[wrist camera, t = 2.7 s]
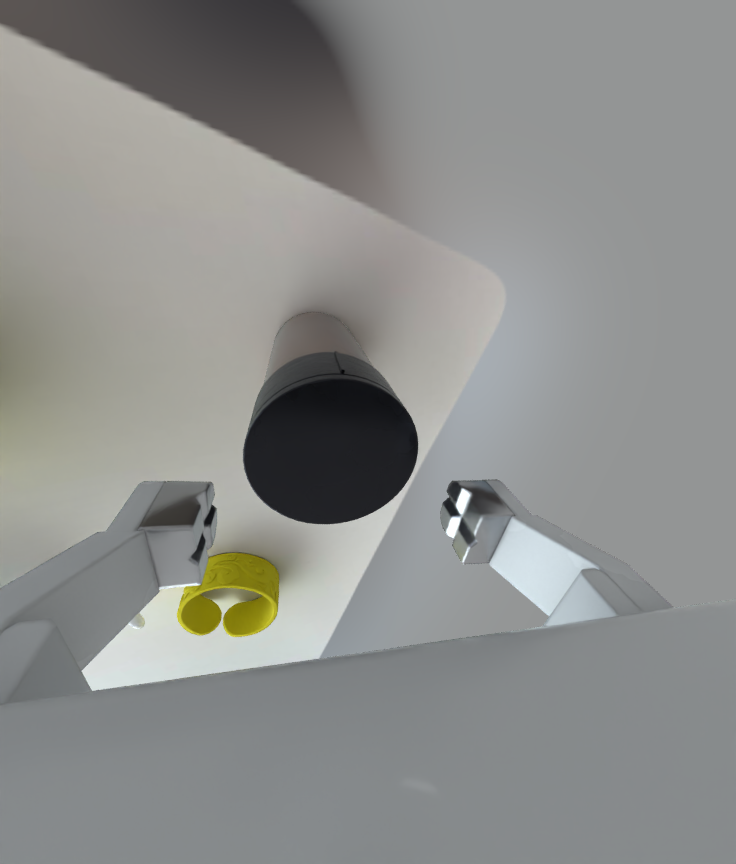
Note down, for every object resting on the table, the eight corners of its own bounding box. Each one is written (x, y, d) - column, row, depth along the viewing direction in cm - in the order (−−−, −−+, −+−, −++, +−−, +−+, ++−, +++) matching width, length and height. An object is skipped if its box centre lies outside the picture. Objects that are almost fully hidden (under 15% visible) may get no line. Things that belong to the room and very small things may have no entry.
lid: (251, 341, 10) (238, 368, 8) (409, 356, 12) (437, 383, 9) (255, 477, 13) (246, 528, 11) (383, 477, 14) (400, 522, 12)
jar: (272, 306, 18) (245, 369, 9) (362, 317, 20) (426, 383, 10) (272, 391, 21) (251, 515, 11) (351, 396, 22) (394, 510, 12)
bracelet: (195, 547, 26) (183, 582, 23) (289, 557, 29) (288, 589, 26) (182, 601, 29) (170, 638, 26) (268, 605, 32) (266, 639, 29)
